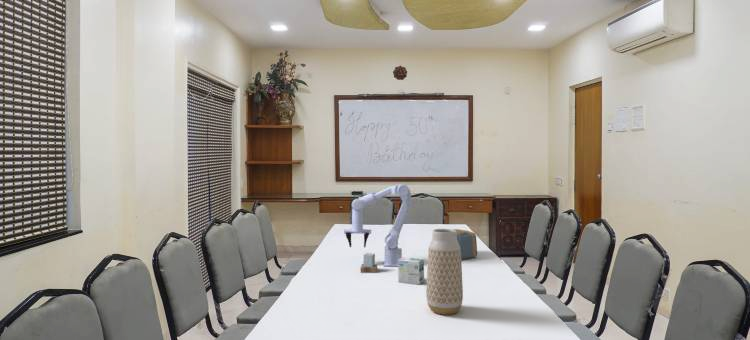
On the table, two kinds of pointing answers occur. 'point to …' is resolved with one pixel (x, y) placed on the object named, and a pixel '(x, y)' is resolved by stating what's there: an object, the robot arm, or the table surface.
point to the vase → (444, 273)
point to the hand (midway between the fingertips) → (357, 246)
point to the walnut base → (369, 269)
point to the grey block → (369, 260)
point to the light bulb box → (411, 270)
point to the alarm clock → (467, 244)
